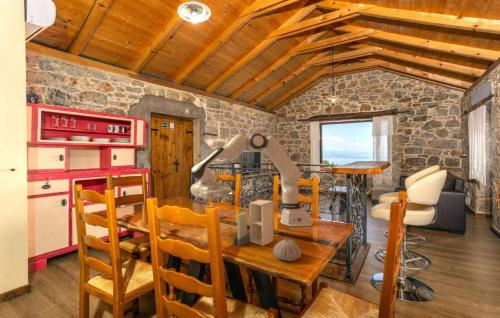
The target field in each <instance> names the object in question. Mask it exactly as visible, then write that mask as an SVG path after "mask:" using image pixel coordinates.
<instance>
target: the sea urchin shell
mask: <svg viewBox="0 0 500 318" xmlns="http://www.w3.org/2000/svg"><path fill="white" fill-rule="evenodd" d="M272 251H273V252H272V253H273V255H274V257H276V258H277V259H278V260H282V261H285V262H286V261H287V262H294V261H297V260H299V259H300V258H301V256H302V250H301V248H300V245H298V244H297V243H296V241H294V240H292V239H282V240H280V241H278V242H277V243H276V244H275V245H274V247H273V248H272Z"/></svg>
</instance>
